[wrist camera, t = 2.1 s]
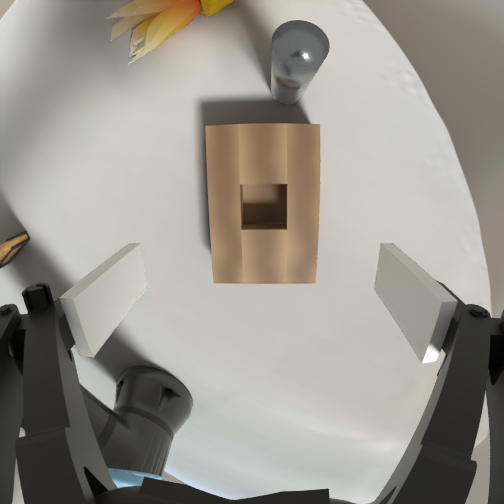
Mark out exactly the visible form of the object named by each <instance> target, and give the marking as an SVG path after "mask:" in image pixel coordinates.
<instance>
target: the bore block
mask: <svg viewBox="0 0 504 504" xmlns="http://www.w3.org/2000/svg"><path fill="white" fill-rule="evenodd" d="M205 130H206V162H207V186H208V206H209V223H210V239H211V254H212V267H213V280H214V283H243V284H300V283H315V282H316V268H317V251H318V231H319V204H320V124H296V123H254V124H227V125H211V126H205Z"/></svg>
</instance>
